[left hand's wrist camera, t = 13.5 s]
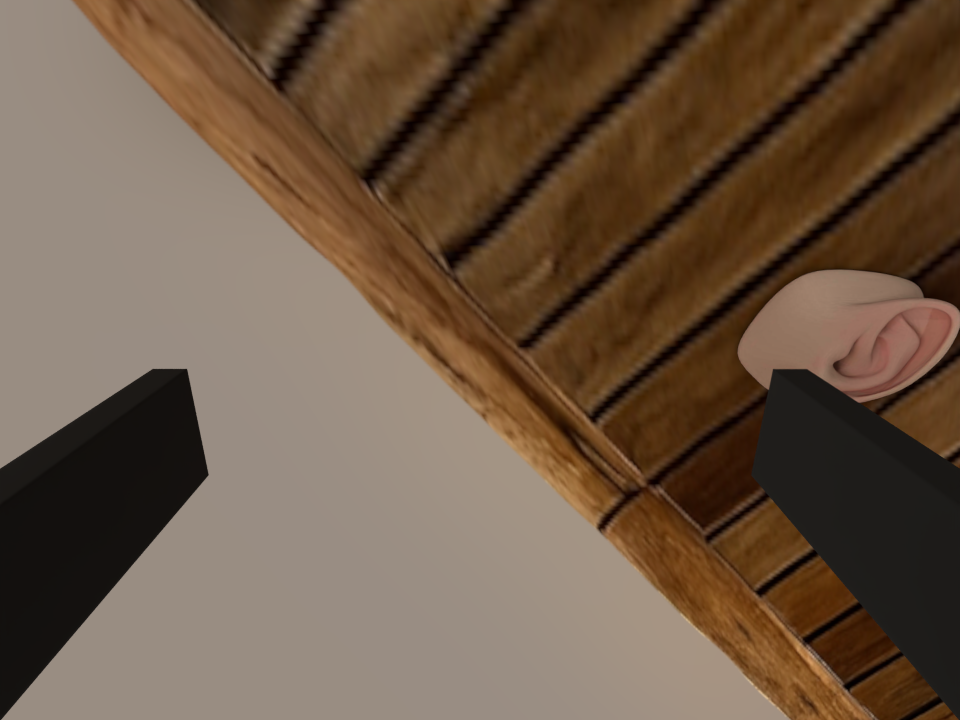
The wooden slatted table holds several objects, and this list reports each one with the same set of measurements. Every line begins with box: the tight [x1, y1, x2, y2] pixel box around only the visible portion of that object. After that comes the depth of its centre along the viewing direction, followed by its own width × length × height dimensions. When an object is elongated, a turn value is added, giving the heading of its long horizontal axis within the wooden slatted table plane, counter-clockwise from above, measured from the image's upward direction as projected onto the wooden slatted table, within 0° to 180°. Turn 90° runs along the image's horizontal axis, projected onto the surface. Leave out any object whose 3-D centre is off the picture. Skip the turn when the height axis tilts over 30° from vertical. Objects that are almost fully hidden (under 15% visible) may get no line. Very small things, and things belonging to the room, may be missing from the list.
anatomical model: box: [738, 270, 960, 403], centre depth 41 cm, size 13×4×12 cm
